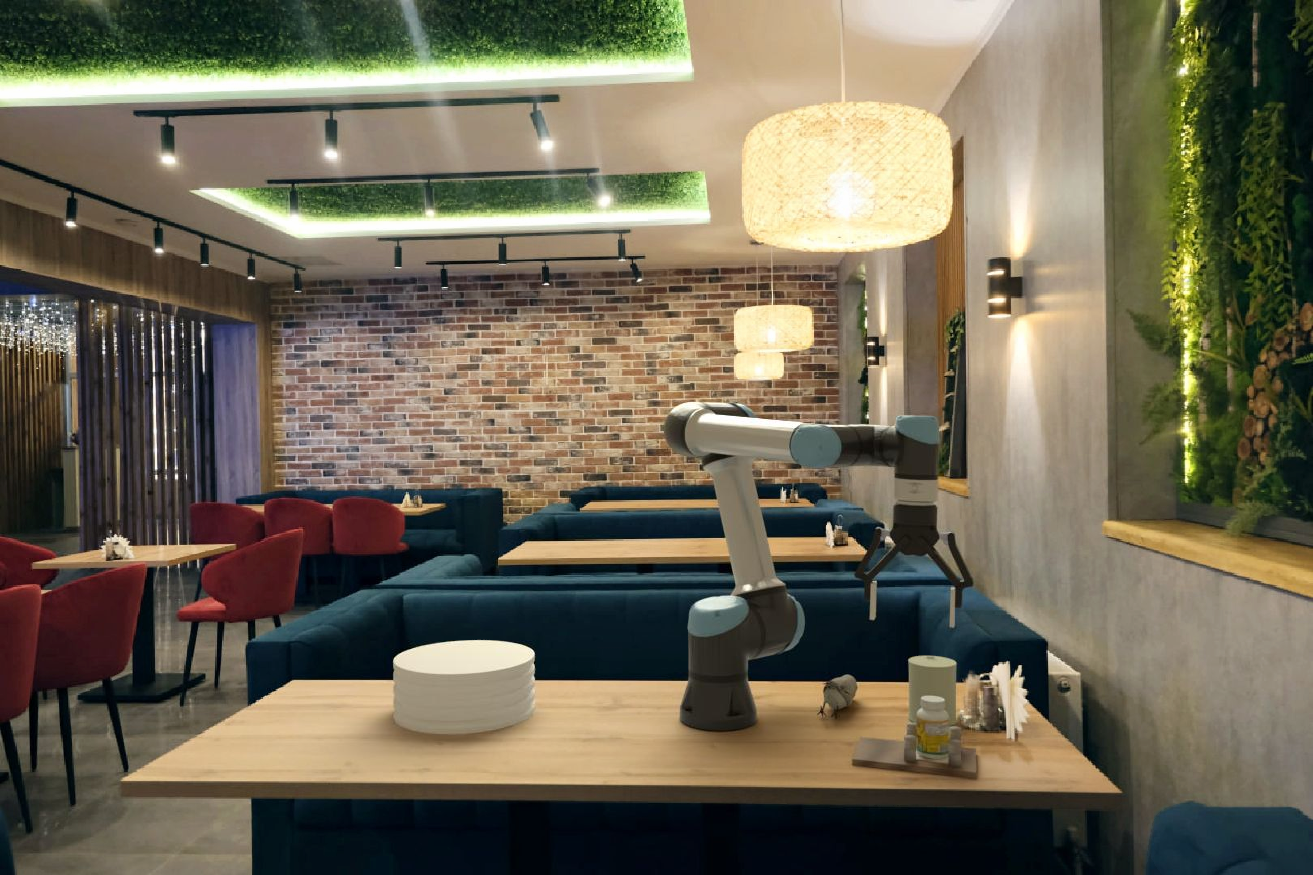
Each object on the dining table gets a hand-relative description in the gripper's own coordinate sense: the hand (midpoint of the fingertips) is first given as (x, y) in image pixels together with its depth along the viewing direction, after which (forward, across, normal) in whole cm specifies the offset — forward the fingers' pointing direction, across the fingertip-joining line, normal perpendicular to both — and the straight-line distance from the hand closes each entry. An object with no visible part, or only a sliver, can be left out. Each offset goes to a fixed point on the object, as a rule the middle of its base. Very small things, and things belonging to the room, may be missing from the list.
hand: (911, 622), depth 166 cm
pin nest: (+23, +2, -5) cm, 23 cm away
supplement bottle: (+22, +4, -5) cm, 23 cm away
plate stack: (+26, -86, -6) cm, 90 cm away
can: (+23, +3, +19) cm, 31 cm away
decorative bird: (+24, -15, +20) cm, 35 cm away
